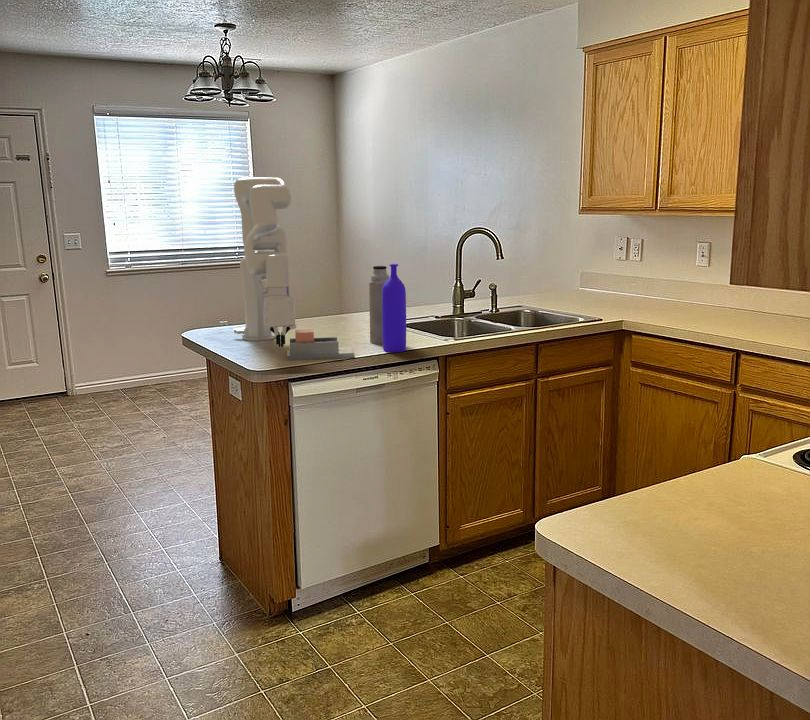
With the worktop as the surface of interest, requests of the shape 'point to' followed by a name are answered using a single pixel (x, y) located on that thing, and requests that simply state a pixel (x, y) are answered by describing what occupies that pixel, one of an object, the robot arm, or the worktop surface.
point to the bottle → (394, 313)
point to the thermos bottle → (376, 303)
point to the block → (304, 336)
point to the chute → (318, 349)
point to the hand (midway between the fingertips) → (280, 346)
